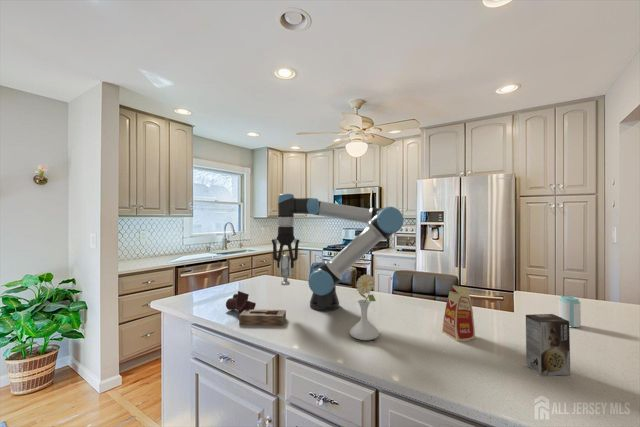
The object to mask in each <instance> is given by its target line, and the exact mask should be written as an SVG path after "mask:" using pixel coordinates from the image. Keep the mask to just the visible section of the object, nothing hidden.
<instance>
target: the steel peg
mask: <svg viewBox="0 0 640 427" xmlns="http://www.w3.org/2000/svg"><path fill="white" fill-rule="evenodd" d="M280 261H281V275H280V276H281V277H283V281H281V282H280V284H281V286H289V285H290V284H291V282H290V280H288V277H290V276H289V262H290V261H291V259H290V254H282V255H281V260H280Z"/></svg>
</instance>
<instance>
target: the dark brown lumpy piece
mask: <svg viewBox="0 0 640 427" xmlns="http://www.w3.org/2000/svg"><path fill="white" fill-rule="evenodd" d="M249 296H250V294H248V293H246V292H243V291H239V290H238V291H237V293H234V294H233V295H232V297H231V298H228V299H227V300H226V302H225V307H226V309H227V310H228V311H234V310H236V311H238V313H239V314H241V313H242V312H243V311H244V310H245V309H255V308H256V305H257V303H256V302H253V301H250V300H249Z"/></svg>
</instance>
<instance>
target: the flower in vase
mask: <svg viewBox="0 0 640 427" xmlns="http://www.w3.org/2000/svg"><path fill="white" fill-rule="evenodd" d="M375 281H376V280H375V278H374V277H373V276H372V275H370V274H369V273H366V274H364V273H363V275H360V277H358V279H357V280H356V286H355V287H356V290H357V292H358V294H359V295H360V296H361V297H363V298H364V299H359V300H357V303H358V304H359V307H360V316H361V317H360V319H359V321H358V322H357V323H355V324H354V325H353V326H351V328H350V329H349V334H350V336H351V337H352V338H355V339H357V340H361V341H372V340H375V339H377V338H378V337H379V335H380V332H379V330H378V328H376V327H375V326H374V325H373V324H372V323H370V321H369V320H368V308H369V306H370V304H371V302H376V301H377V300H376V298H375V295H374V294H370V293H371V292H372V290H373V289H374V287H375ZM365 294H367V296H366V295H365Z"/></svg>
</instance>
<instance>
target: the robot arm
mask: <svg viewBox="0 0 640 427" xmlns="http://www.w3.org/2000/svg"><path fill="white" fill-rule="evenodd" d="M295 214H296V215H301V214H302V215H313V216H321V217H327V218H331V219H337V220H338V219H339V220H343V221H350V222H354V223H355V222H356V223H361V224H367V227H366V228H364V229H363V230H362V231H361V232H360V233H359V234H358V235H357V236H355V237H354V238H353V239H352V240H351V241H350V242H348V244H347V245H346V246H345V247H343V249H341V250H340V251H339V252H338V253H337V254H336V255H335V256H333V258H331V259H330V260H324V261H315V262H313V266H312V268H313V270H312V272H311V273H310V274H309V275H308V276H309V277H308V280H307V281H308V287H309V290H311V292H312V294H311V298H310V301H309V307H310V308H311V309H312V310H315V311H323V312H324V311H325V312H326V311H327V312H328V311H334V310H336V309H339V308H340V301H339V297H338V294H337V290H336V289H337V288H336V286H337V285H338V284H339V283H340V281H342V279H343V275H344V273H346V272H347V271H348V270H350V268H351V267H353V266H354V264H356V263H357V262H359V260H360V259H362V258H363V257H364V255H366V254H367V253H368V252H370V250H372V248H374V247H375V246H376V245H378V243H380V241H387V239H389V238H390V237H391V236H392V235H394V234H395V233H398V232H399V231H400V230H401V229H402V227H403V225H404V222H405V221H404V215H403V213H402V212H401V210H399V209H398V208H396V207H394V206H386V207H382V208H380V207H379V208H378V207H371V208H366V207H358V206H353V205H346V204H341V203H334V202H328V201H322V200H319V199H318V198H315V197H314V198H313V197H300V198H299V197H298V198H296V197H295V195H294V194H292V193H280V194H279V195H278V200H277V225H278V227H277V236H276V238H273V239H272V240H271V244H272V252H273V253H272V255H273V256H272V257H273V260H274V261H276V262H277V264H276V266H277V269H279V272H278V273H279V276H281V255H283V249H284V246H287V249H288V252H289V254H288V255H290V262H289V276H288V277H290V276H292V273H293V272H292V271H293V270H292V269H294V267H295V266H294V265H295V264H294V263H295V261H297V260H298V258H299V257H298V256H299V244H300V242H301V240H300V239H298V238H295V234H294V233H295V231H294V230H295V228H294V225H295V224H294V223H295V219H294V217H295V216H294V215H295ZM293 242H294V252H293V247H292V243H293ZM278 243H279V250H278V247H277V244H278Z"/></svg>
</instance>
